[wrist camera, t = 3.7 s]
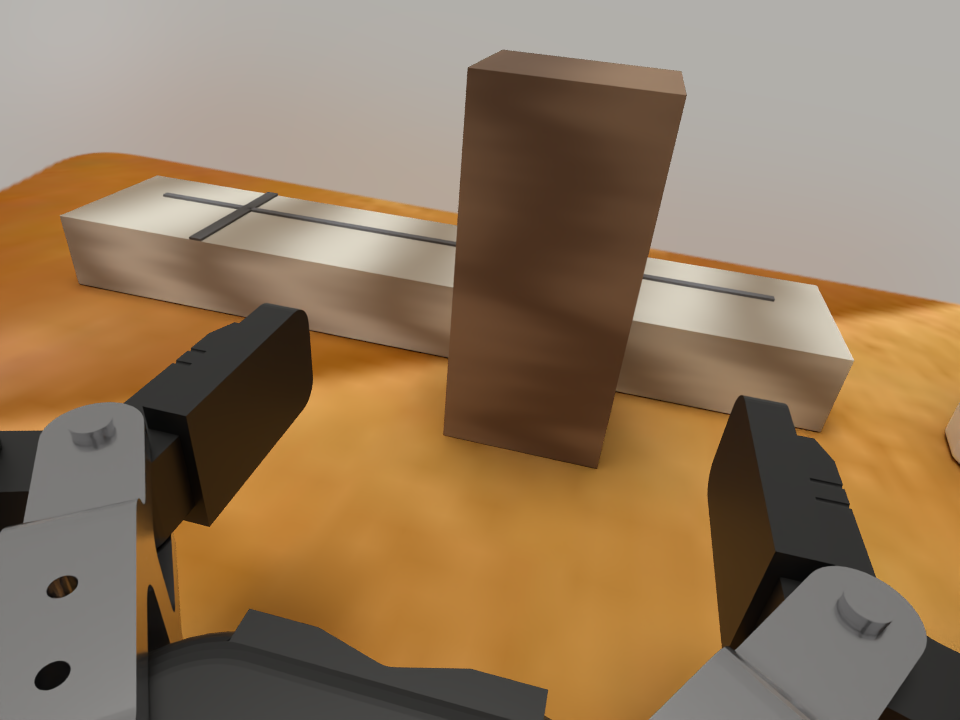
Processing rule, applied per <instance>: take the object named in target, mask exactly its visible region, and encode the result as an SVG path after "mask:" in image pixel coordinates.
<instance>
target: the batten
mask: <svg viewBox="0 0 960 720" xmlns="http://www.w3.org/2000/svg"><path fill="white" fill-rule="evenodd" d="M60 218H61V221H62V225H63V229H64V232H65V236H66V239H67V243H68V246H69V250H70V253H71V257H72V261H73V264H74V268H75V271H76V275H77V278H78V282H79V284H83V285H88V286H93V287H98V288H103V289H108V290H113V291H118V292H123V293H128V294H133V295H138V296H143V297H148V298H153V299H158V300H163V301H168V302H173V303H178V304H183V305H188V306H193V307H198V308H203V309H208V310H213V311H218V312H223V313H228V314H233V315H238V316H243V317H247V316H248V315H250V314H251V313H252V312H253V311H254V310H255V309H257V308H258V307H259V306H260V305H262V304H264V303H270V304H275V305H280V306H286V307H291V308H296V309H301V310H304V311H305V312H306V314H307V316H308V321H309V330H313V331H318V332H323V333H328V334H333V335H338V336H343V337H348V338H353V339H358V340H363V341H368V342H373V343H378V344H383V345H388V346H393V347H398V348H403V349H408V350H413V351H418V352H423V353H428V354H433V355H438V356H443V357H448V358H449V343H450V328H451V313H452V298H453V283H454V268H455V253H456V237H457V226H456V225H450V224H444V223H438V222H432V221H426V220H420V219H414V218H408V217H402V216H396V215H390V214H384V213H378V212H372V211H366V210H360V209H354V208H348V207H342V206H336V205H330V204H324V203H318V202H312V201H306V200H300V199H294V198H288V197H282V196H278V194H277V193H271V192H267V193H265V194H264V193H258V192H252V191H246V190H240V189H234V188H229V187H223V186H217V185H211V184H205V183H199V182H193V181H187V180H181V179H175V178H169V177H163V176H156V177H153V178H151V179H148V180H146V181H143V182H141V183H138V184H136V185H134V186H131V187H129V188H126V189H124V190H121V191H119V192H117V193H114V194H112V195H109V196H107V197H104V198H102V199H100V200H97V201H95V202H92V203H90V204H87V205H85V206H82V207H80V208H78V209H75V210H73V211H70V212H68V213H65V214H63V215H61V216H60ZM853 362H854V359H853V357H852V355H851V353H850V351H849V349H848V347H847V345H846V343H845V341H844V339H843V337H842V335H841V333H840V331H839V329H838V327H837V325H836V323H835V321H834V319H833V317H832V315H831V313H830V311H829V309H828V307H827V305H826V303H825V301H824V299H823V297H822V295H821V293H820V291H819V289H818V287H817V286H816V285H810V284H804V283H798V282H792V281H786V280H780V279H774V278H768V277H762V276H756V275H750V274H744V273H738V272H732V271H726V270H720V269H714V268H708V267H702V266H696V265H690V264H684V263H678V262H672V261H666V260H660V259H654V258H647V262H646V266H645V271H644V275H643V279H642V283H641V287H640V291H639V296H638V300H637V304H636V308H635V312H634V316H633V321H632V325H631V329H630V333H629V337H628V341H627V345H626V350H625V354H624V358H623V362H622V366H621V370H620V375H619V379H618V383H617V387H616V391H618V392H623V393H628V394H633V395H638V396H643V397H648V398H653V399H658V400H663V401H668V402H673V403H678V404H683V405H688V406H693V407H698V408H703V409H708V410H713V411H718V412H723V413H728V414H731V411H732V408H733V406H734V403H735V401H736V400H737V398H738V397H739V396H740V395H744V396H749V397H754V398H760V399H765V400H770V401H775V402H780V403H785V404H787V406H788V408H789V410H790V414H791V417H792V421H793V424H794V427H798V428H803V429H808V430H813V431H818V432H821V430H822V428H823V426H824V423H825V421H826V419H827V417H828V415H829V413H830V411H831V409H832V407H833V404H834V402H835V400H836V398H837V396H838V394H839V392H840V390H841V387H842V385H843V383H844V381H845V379H846V377H847V375H848V373H849V371H850V368H851V366H852V364H853Z"/></svg>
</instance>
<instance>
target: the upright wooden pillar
mask: <svg viewBox="0 0 960 720" xmlns="http://www.w3.org/2000/svg"><path fill="white" fill-rule="evenodd" d="M686 96H687V95H686V90H685V86H684V81H683V77H682V72H681V71H674V70H666V69H658V68H649V67H640V66H633V65H625V64H616V63H608V62H599V61H591V60H583V59H575V58H567V57H559V56H558V57H557V56H550V55H542V54H534V53H525V52H517V51H508V50H501V51H499V52H497V53H495V54H493V55H491V56H489V57H488V58H485V59H483V60H481V61H480V62H478V63H476V64H474V65H472V66H470V67H468V72H467V87H466V102H465V118H464V132H463V133H464V134H463V147H462V163H461V178H460V192H459V208H458V222H457V237H456V253H455V268H454V283H453V298H452V313H451V328H450V343H449V358H448V373H447V388H446V404H445V419H444V434H443V435H446V436H450V437H455V438H459V439H464V440H468V441H473V442H477V443H482V444H487V445H491V446H496V447H500V448H505V449H509V450H514V451H519V452H523V453H528V454H532V455H537V456H541V457H546V458H550V459H555V460H560V461H564V462H569V463H573V464H578V465H582V466H587V467H592V468H596V469H597V466H598V462H599V458H600V454H601V449H602V445H603V441H604V437H605V433H606V429H607V425H608V420H609V416H610V412H611V408H612V404H613V400H614V395H615V391H616V387H617V383H618V379H619V375H620V370H621V366H622V362H623V358H624V354H625V350H626V345H627V341H628V337H629V333H630V329H631V325H632V321H633V316H634V312H635V308H636V304H637V300H638V296H639V291H640V287H641V283H642V279H643V275H644V271H645V266H646V262H647V258H648V254H649V250H650V246H651V242H652V237H653V233H654V229H655V225H656V221H657V216H658V212H659V208H660V204H661V200H662V195H663V191H664V187H665V183H666V179H667V174H668V171H669V167H670V162H671V158H672V154H673V150H674V146H675V142H676V138H677V133H678V129H679V125H680V121H681V116H682V113H683V108H684V104H685V100H686Z"/></svg>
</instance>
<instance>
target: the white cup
mask: <svg viewBox="0 0 960 720" xmlns="http://www.w3.org/2000/svg"><path fill="white" fill-rule="evenodd" d="M945 434H946V437H947V440H948V443H949V447H950V450H951V453H952V456H953V457H954V458H955V460H956V461H957V462H958V463H959V464H960V402H959V404H958V406H957V408H956V410H955V412H954V413H953V415H952V417H951V419H950V421H949V423H948V425H947V427H946V429H945Z"/></svg>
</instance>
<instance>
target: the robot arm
mask: <svg viewBox="0 0 960 720" xmlns="http://www.w3.org/2000/svg"><path fill="white" fill-rule="evenodd" d="M312 384H313V373H312V359H311V346H310V332H309V321H308V316H307V314H306V312H305V311H304V310H301V309H296V308H291V307H286V306H280V305H275V304H270V303H264V304H262V305H260V306H259V307H258V308H257V309H255V310H254V311H253V312H252V313H251V314H250V315H248V316H247V317H246V318H245V319H244V320H243V321H241V322H240V323H235V322H234V323H232V324H230V325H227V326H225V327H223V328H220V329H218V330H216V331H213V332H211V333H209V334H208V335H206V336H205V337H204V338H203V339H202V340H200V341H199V342H198V343H197V344H195V345H194V346H193V347H192V348H191V351H187V352H186V353H184V354H183V355H182V356H181V357H180V358H178V359H177V360H176V364H174V363H172V364H171V365H170V366H169V367H167V368H166V369H165V370H164V371H162V372H161V373H160V374H159V375H158V376H156V377H155V378H154V379H153V380H151V381H150V382H149V383H148V384H147V385H145V386H144V387H143V388H142V389H141V390H139V391H138V392H137V393H136V394H134V395H133V396H132V397H131V398H130V399H128V400H127V401H126V402H125V403H123V404H122V403H114V402H107V403H96V404H91V405H86V406H83V407H79V408H76V409H74V410H71V411H69V412H67V413H65V414H63V415H61V416H59V417H58V418H56V419H54V420H53V421H52V422H51V423H49V424H48V425H47V426H46V427H45V429H44V430H43V431H0V720H551V719H549V718H548V717H546V716H544V713H545V707H546V700H547V693H548V690H547V689H543V688H539V687H536V686H532V685H528V684H525V683H521V682H517V681H513V680H510V679H506V678H502V677H499V676H495V675H491V674H488V673H484V672H480V671H477V670H473V669H454V668H400V667H388V666H384V665H382V664H380V663H378V662H376V661H374V660H373V659H371V658H369V657H368V656H366V655H364V654H362V653H361V652H359V651H357V650H356V649H354V648H352V647H351V646H349V645H347V644H346V643H344V642H342V641H341V640H339V639H337V638H336V637H334V636H332V635H330V634H329V633H327V632H325V631H324V630H322V629H320V628H319V627H315V626H311V625H308V624H304V623H300V622H297V621H293V620H289V619H285V618H282V617H278V616H274V615H271V614H267V613H263V612H260V611H256V610H252V609H249V610H248V612H247V613H246V615H245V617H244V618H243V620H242V621H241V623H240V624H239V626H238V628H237V629H236V631H235V632H219V633H209V634H204V635H200V636H195V637H190V638H187V639H182V631H181V617H180V602H179V586H178V570H177V554H176V542H175V537H174V534H173V531H174V530H175V529H176V528H177V527H178V525H179V524H180V523H181V522H182V521H183V520H185V521H189V522H193V523H197V524H200V525H204V526H208V527H210V526H211V524H212V523H213V522H214V521H215V519H216V518H217V517H218V516H219V514H220V513H221V512H222V511H223V509H224V508H225V507H226V506H227V504H228V503H229V502H230V501H231V499H232V498H233V497H234V496H235V494H236V493H237V492H238V491H239V489H240V488H241V487H242V486H243V484H244V483H245V482H246V480H247V479H248V478H249V477H250V475H251V474H252V473H253V472H254V470H255V469H256V468H257V467H258V465H259V464H260V463H261V462H262V460H263V459H264V458H265V457H266V455H267V454H268V453H269V452H270V450H271V449H272V448H273V447H274V445H275V444H276V443H277V442H278V440H279V439H280V438H281V437H282V435H283V434H284V433H285V432H286V430H287V429H288V428H289V427H290V425H291V424H292V423H293V422H294V420H295V419H296V418H297V417H298V415H299V414H300V413H301V412H302V410H303V409H304V408H305V406H306V404H307V402H308V400H309V397H310V394H311V390H312ZM842 486H843V484H842V481H841V478H840V475H839V473H838V470H837V467H836V464H835V461H834V460H833V459H832V458H831V457H830V456H829V455H828V454H827V452H826V451H825V450H824V449H823V448H822V447H821V446H820V445H819V444H818V442H817V441H816V440H815V439H813V438H808V437H803V436H798V435H797V434H796V431H795V427H794V424H793V421H792V417H791V414H790V410H789V408H788V406H787V404H785V403H780V402H775V401H770V400H765V399H760V398H754V397H749V396H744V395H740V396H739V397H738V398H737V400H736V401H735V403H734V406H733V408H732V411H731V414H730V416H729V419H728V422H727V425H726V427H725V430H724V433H723V436H722V438H721V441H720V444H719V446H718V449H717V452H716V455H715V457H714V460H713V463H712V466H711V470H710V475H709V481H708V506H709V517H710V527H711V538H712V548H713V559H714V569H715V580H716V590H717V601H718V611H719V622H720V632H721V643H722V649H721V650H720V651H718V652H717V653H716V654H715V655H714V656H713V657H712V658H711V659H710V660H709V661H708V662H707V663H706V664H705V665H704V666H703V667H702V668H701V669H700V670H699V671H698V672H697V673H696V674H695V675H694V676H693V677H692V678H690V679H689V680H688V681H687V682H686V683H685V684H684V685H683V686H682V687H681V688H680V689H679V690H678V691H677V692H676V693H675V694H674V695H673V696H672V697H671V698H670V699H669V700H668V701H667V702H666V703H665V704H664V705H663V706H662V707H661V708H660V709H659V710H658V711H657V712H656V713H655V714H654V715H653V716H652V717H651V718H650V719H649V720H960V653H958V652H956V651H954V650H952V649H950V648H948V647H946V646H944V645H942V644H940V643H938V642H936V641H934V640H933V639H931V638H929V637H928V636H926V631H925V628H924V625H923V623H922V621H921V619H920V617H919V615H918V614H917V612H916V611H915V610H914V608H913V607H912V606H911V605H910V604H909V603H908V602H907V600H906V599H905V598H904V597H902V596H901V595H900V594H899V593H898V592H897V591H896V590H894V589H893V588H891V587H890V586H889V585H887V584H886V583H884V582H882V581H881V580H879V579H877V578H876V576H875V573H874V570H873V568H872V565H871V562H870V559H869V556H868V554H867V551H866V548H865V545H864V542H863V540H862V537H861V534H860V531H859V528H858V526H857V523H856V520H855V517H854V514H853V512H852V509H849V505H850V503H849V501H848V498H847V495H846V492H845V489H842Z"/></svg>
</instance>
